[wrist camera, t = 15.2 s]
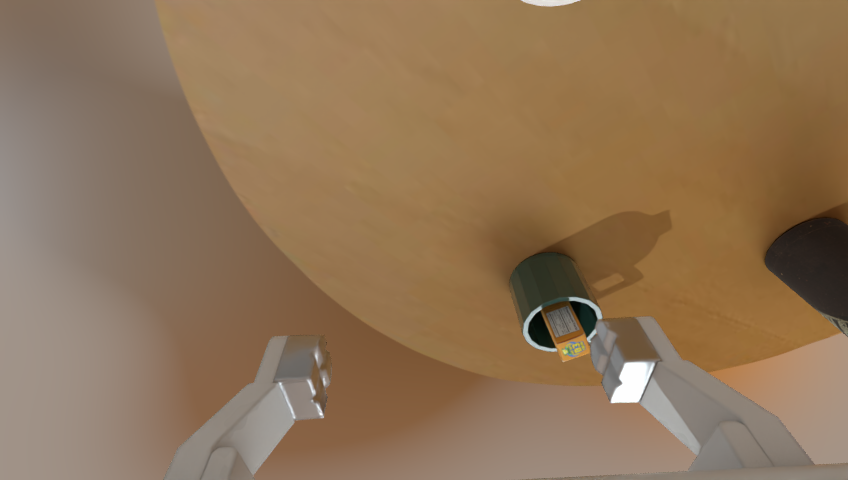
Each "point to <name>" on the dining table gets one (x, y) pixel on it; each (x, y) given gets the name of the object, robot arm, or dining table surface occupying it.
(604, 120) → the dining table surface
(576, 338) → the supplement box
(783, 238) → the container
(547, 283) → the teal faceted mug
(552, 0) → the white air blower bulb
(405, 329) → the dining table surface
